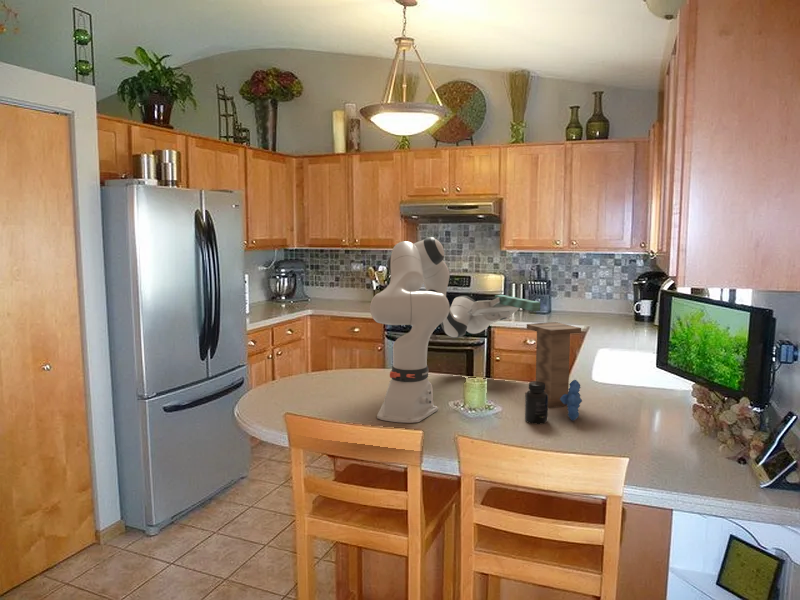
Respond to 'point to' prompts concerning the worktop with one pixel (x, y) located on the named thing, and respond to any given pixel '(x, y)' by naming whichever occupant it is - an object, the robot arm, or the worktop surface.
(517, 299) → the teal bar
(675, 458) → the worktop surface
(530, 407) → the supplement bottle
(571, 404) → the grapes
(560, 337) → the walnut stand
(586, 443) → the worktop surface
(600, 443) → the worktop surface
